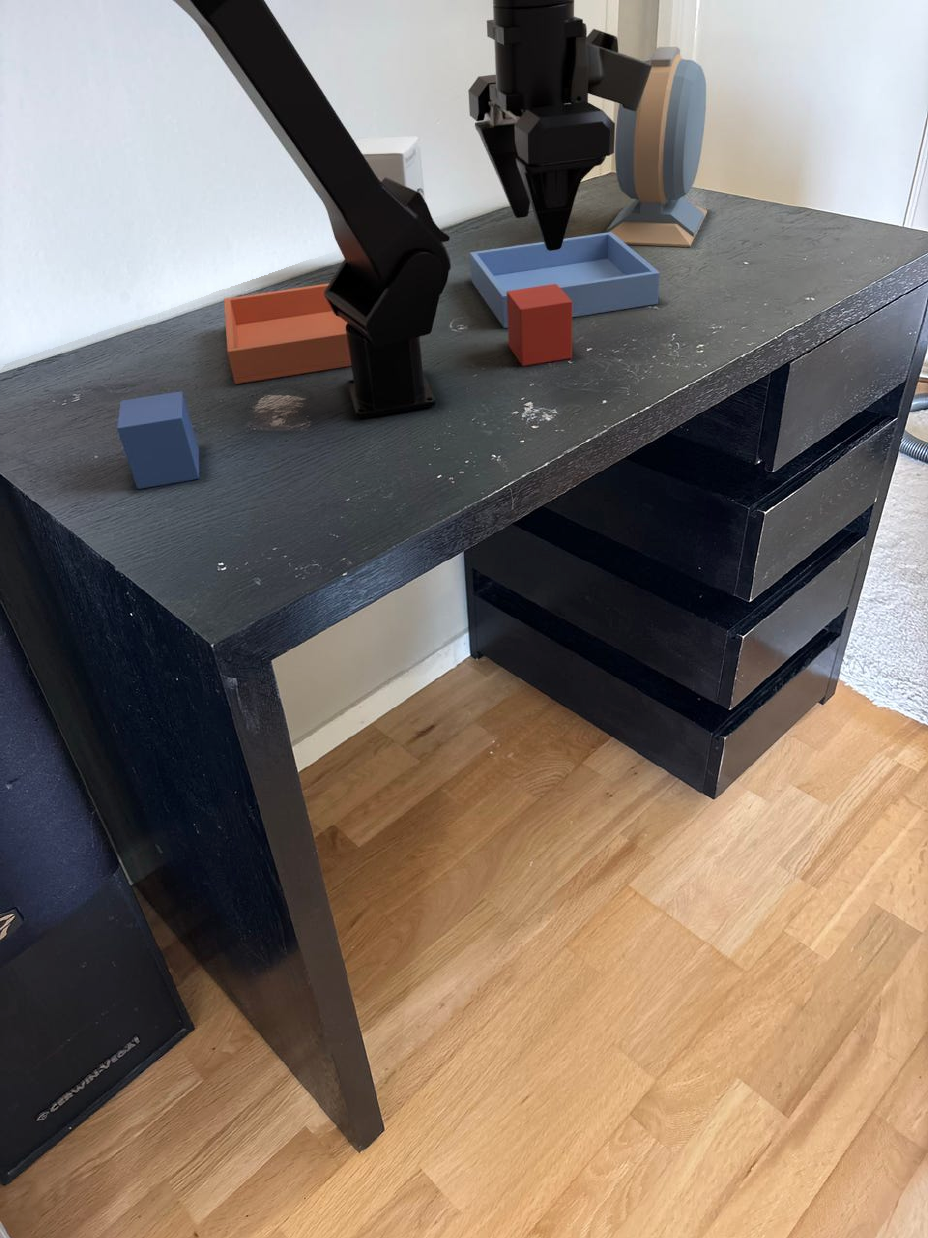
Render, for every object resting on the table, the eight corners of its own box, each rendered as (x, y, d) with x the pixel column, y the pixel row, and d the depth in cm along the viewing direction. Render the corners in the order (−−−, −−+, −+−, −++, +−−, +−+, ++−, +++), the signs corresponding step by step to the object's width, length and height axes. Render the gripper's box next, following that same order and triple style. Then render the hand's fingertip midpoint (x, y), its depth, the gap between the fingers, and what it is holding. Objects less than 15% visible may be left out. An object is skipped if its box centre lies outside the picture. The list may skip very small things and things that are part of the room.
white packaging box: (416, 284, 97) (403, 152, 89) (349, 284, 98) (329, 154, 90) (432, 260, 102) (421, 134, 94) (368, 260, 104) (351, 136, 96)
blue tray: (657, 304, 88) (660, 272, 86) (503, 328, 86) (502, 296, 84) (610, 260, 98) (611, 231, 96) (471, 281, 96) (469, 252, 94)
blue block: (199, 478, 68) (181, 417, 65) (137, 489, 68) (116, 427, 65) (199, 450, 72) (182, 390, 69) (140, 460, 71) (120, 400, 68)
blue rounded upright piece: (626, 207, 112) (633, 36, 101) (708, 209, 109) (724, 34, 98) (598, 245, 102) (603, 61, 91) (688, 249, 99) (704, 59, 88)
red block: (572, 358, 80) (572, 301, 77) (522, 366, 79) (520, 309, 76) (556, 338, 83) (556, 283, 80) (508, 346, 83) (506, 290, 80)
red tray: (406, 357, 83) (402, 324, 81) (235, 384, 81) (227, 351, 79) (383, 305, 93) (379, 275, 91) (230, 328, 91) (223, 298, 89)
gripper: (695, 4, 59) (676, 253, 69) (598, -20, 73) (593, 190, 83) (527, 22, 58) (532, 274, 67) (461, -5, 72) (473, 206, 82)
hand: (536, 232), depth 75 cm, fingers open, 9 cm apart
